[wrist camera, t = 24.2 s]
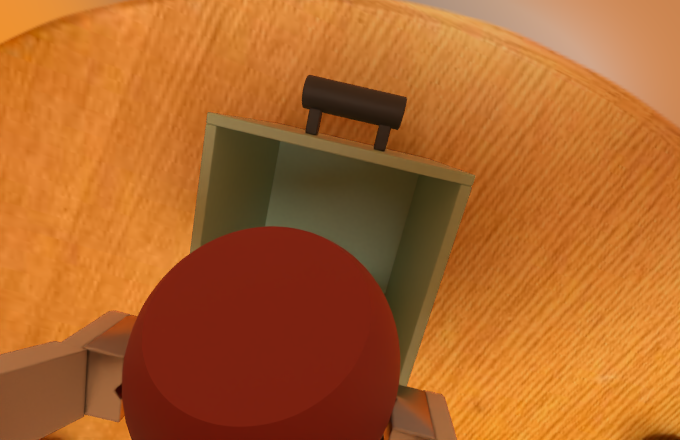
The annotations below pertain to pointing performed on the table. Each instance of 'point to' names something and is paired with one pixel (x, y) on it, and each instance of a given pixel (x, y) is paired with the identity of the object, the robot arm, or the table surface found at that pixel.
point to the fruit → (263, 345)
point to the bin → (339, 195)
